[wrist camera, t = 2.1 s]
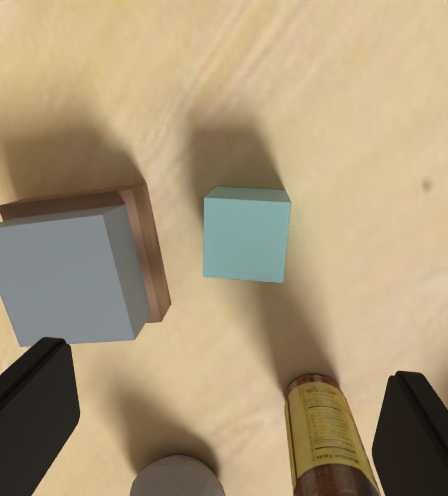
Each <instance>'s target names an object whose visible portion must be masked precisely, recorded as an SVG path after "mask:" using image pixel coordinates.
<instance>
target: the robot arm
mask: <svg viewBox="0 0 448 496" xmlns="http://www.w3.org/2000/svg"><path fill="white" fill-rule="evenodd" d="M79 418H80V407H79V400H78V394H77V387H76V380H75V373H74V366H73V359H72V352H71V347H70V345H69V344H67V343H66V341H65V339H63V338H54V337H43V338H41V339H40V340H39V341H38V342H36V343H35V344H34V345H33V346H32V347H31V348H30V349H29V350H28V351H26V352H25V353H24V354H23V355H22V356H21V357H20V358H19V359H18V360H16V361H15V362H14V363H13V364H12V365H11V366H10V367H9V368H8V369H6V370H5V371H4V372H3V373H2V374H1V375H0V496H31V495H32V494H33V492H34V491H35V489H36V488H37V486H38V485H39V483H40V482H41V480H42V478H43V477H44V475H45V474H46V472H47V471H48V469H49V468H50V466H51V465H52V463H53V461H54V460H55V458H56V457H57V455H58V454H59V452H60V451H61V449H62V448H63V446H64V444H65V443H66V441H67V440H68V438H69V437H70V435H71V434H72V432H73V431H74V429H75V427H76V426H77V424H78V421H79ZM372 457H373V462H374V465H375V468H376V471H377V474H378V476H379V479H380V482H381V485H382V488H383V491H384V494H385V496H448V410H447V408H446V407H445V405H444V404H443V402H442V401H441V399H440V398H439V397H438V395H437V394H436V392H435V391H434V389H433V388H432V386H431V385H430V384H429V382H428V381H427V379H426V378H425V376H424V375H423V374H421V373H418V372H408V371H397V372H396V374H395V376H390V377H389V379H388V383H387V387H386V391H385V395H384V400H383V404H382V408H381V412H380V416H379V420H378V424H377V429H376V433H375V437H374V441H373V445H372Z"/></svg>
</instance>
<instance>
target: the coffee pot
mask: <svg viewBox="0 0 448 496" xmlns="http://www.w3.org/2000/svg"><path fill="white" fill-rule="evenodd" d="M130 496H225V492H224V489H223V486H222V484H221V483H220V481H219V480H218V479H217V477H216V476H215V475H214V473H213V472H212V471H211V470H210V469H209V467H208V466H206V465H205V464H204V463H203V462H201V461H199V460H198V459H196V458H193V457H190V456H185V455H171V456H168V457H165V458H163V459H160V460H157V461H155V462H153V463H151V464H150V465H148V466H147V467H145V468H144V469H143V470H142V471H141V472H140V473H139V475H138V476H137V477H136V478H135V480H134V481H133V484H132V487H131V491H130Z"/></svg>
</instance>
